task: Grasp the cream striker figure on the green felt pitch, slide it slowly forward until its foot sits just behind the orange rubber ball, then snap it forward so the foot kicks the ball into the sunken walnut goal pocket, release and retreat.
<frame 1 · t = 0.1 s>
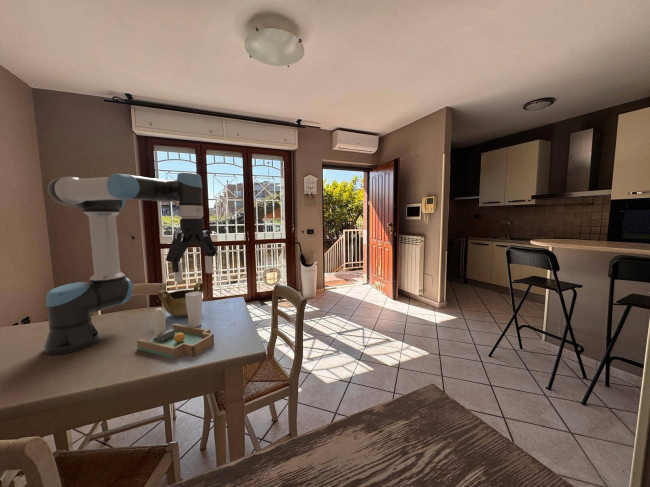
hand: (194, 276, 93), 28 cm above the table, fingers open, 13 cm apart
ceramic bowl: (183, 315, 131), on the table
striker: (161, 323, 103), point 8 cm above the table, slide at 0.0 cm
drinking glass: (195, 325, 118), on the table
pitch: (180, 344, 100), on the table
ball: (179, 337, 100), point 3 cm above the table, touching pitch
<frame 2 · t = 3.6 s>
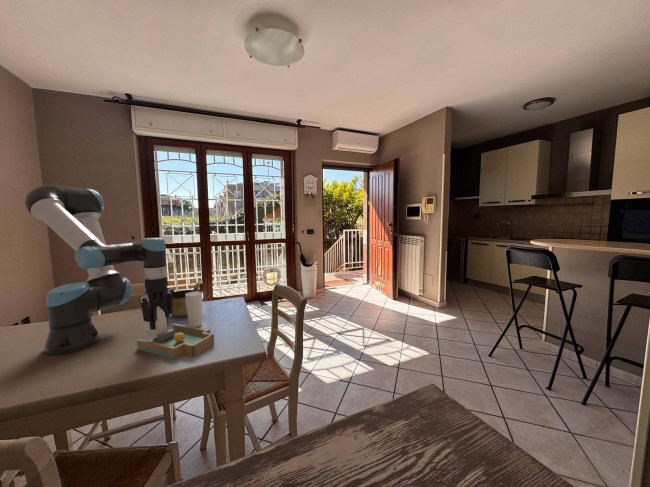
hand: (160, 334, 104), 3 cm above the table, fingers closed on striker, 3 cm apart
striker: (161, 323, 103), point 8 cm above the table, slide at 0.0 cm, touching gripper
everything else where it was.
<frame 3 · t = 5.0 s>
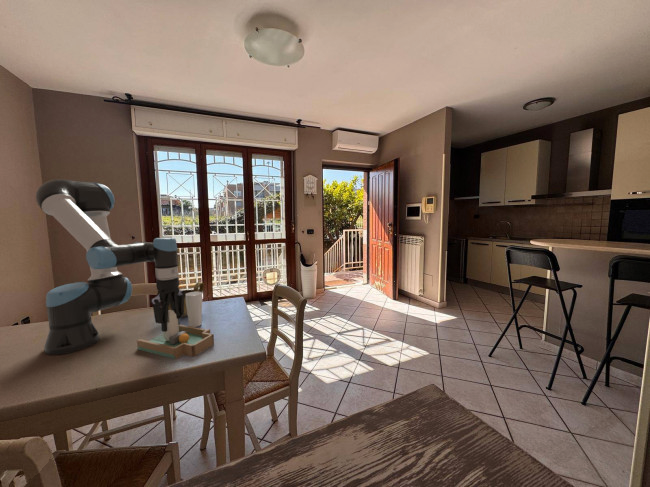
hand: (171, 336, 101), 3 cm above the table, fingers closed on striker, 3 cm apart
striker: (173, 325, 101), point 7 cm above the table, slide at 6.2 cm, touching gripper
ball: (184, 338, 99), point 3 cm above the table, tilted 48°, touching pitch
everything else where it was.
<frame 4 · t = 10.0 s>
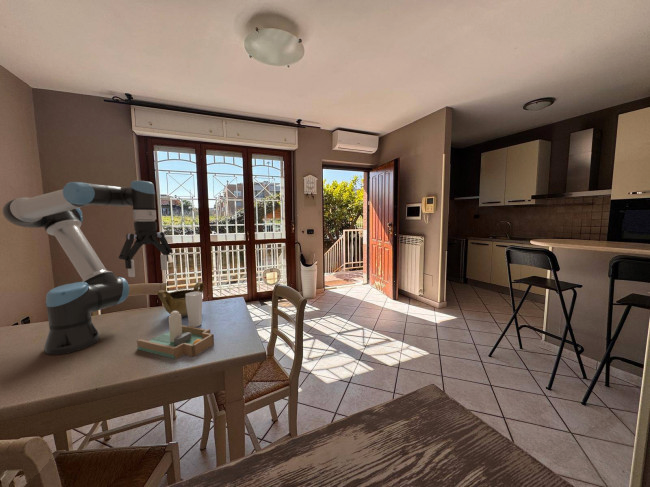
hand: (149, 273, 105), 27 cm above the table, fingers open, 13 cm apart
striker: (178, 326, 100), point 8 cm above the table, slide at 8.7 cm
ball: (198, 344, 97), point 2 cm above the table, tilted 53°
everything else where it was.
at the end: ball inside the target area on the pitch (0.8 cm from its centre), point 1.8 cm above the pitch's base; striker slide at 8.7 cm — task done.
